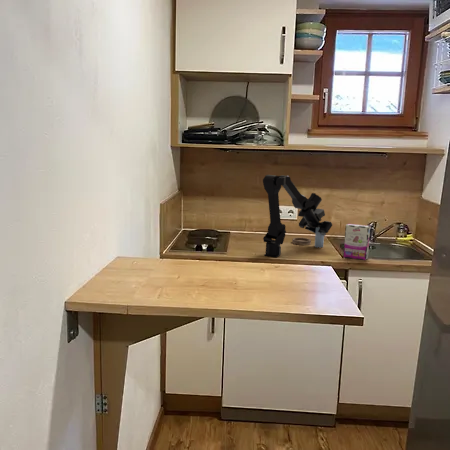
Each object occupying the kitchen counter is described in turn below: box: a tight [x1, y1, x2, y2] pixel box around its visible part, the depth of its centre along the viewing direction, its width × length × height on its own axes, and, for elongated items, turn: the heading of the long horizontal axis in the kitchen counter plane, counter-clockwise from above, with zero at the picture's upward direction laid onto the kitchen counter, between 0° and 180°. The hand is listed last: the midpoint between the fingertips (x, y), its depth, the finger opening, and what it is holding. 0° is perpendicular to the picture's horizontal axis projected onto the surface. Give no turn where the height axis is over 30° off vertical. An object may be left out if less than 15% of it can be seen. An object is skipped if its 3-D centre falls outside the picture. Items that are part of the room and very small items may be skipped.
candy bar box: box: [342, 223, 371, 261], centre depth 229 cm, size 11×5×16 cm, turn 62°
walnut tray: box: [291, 237, 312, 246], centre depth 259 cm, size 10×10×2 cm
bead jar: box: [314, 227, 325, 249], centre depth 251 cm, size 5×5×13 cm
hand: (321, 234), depth 251 cm, fingers closed on bead jar, 5 cm apart
